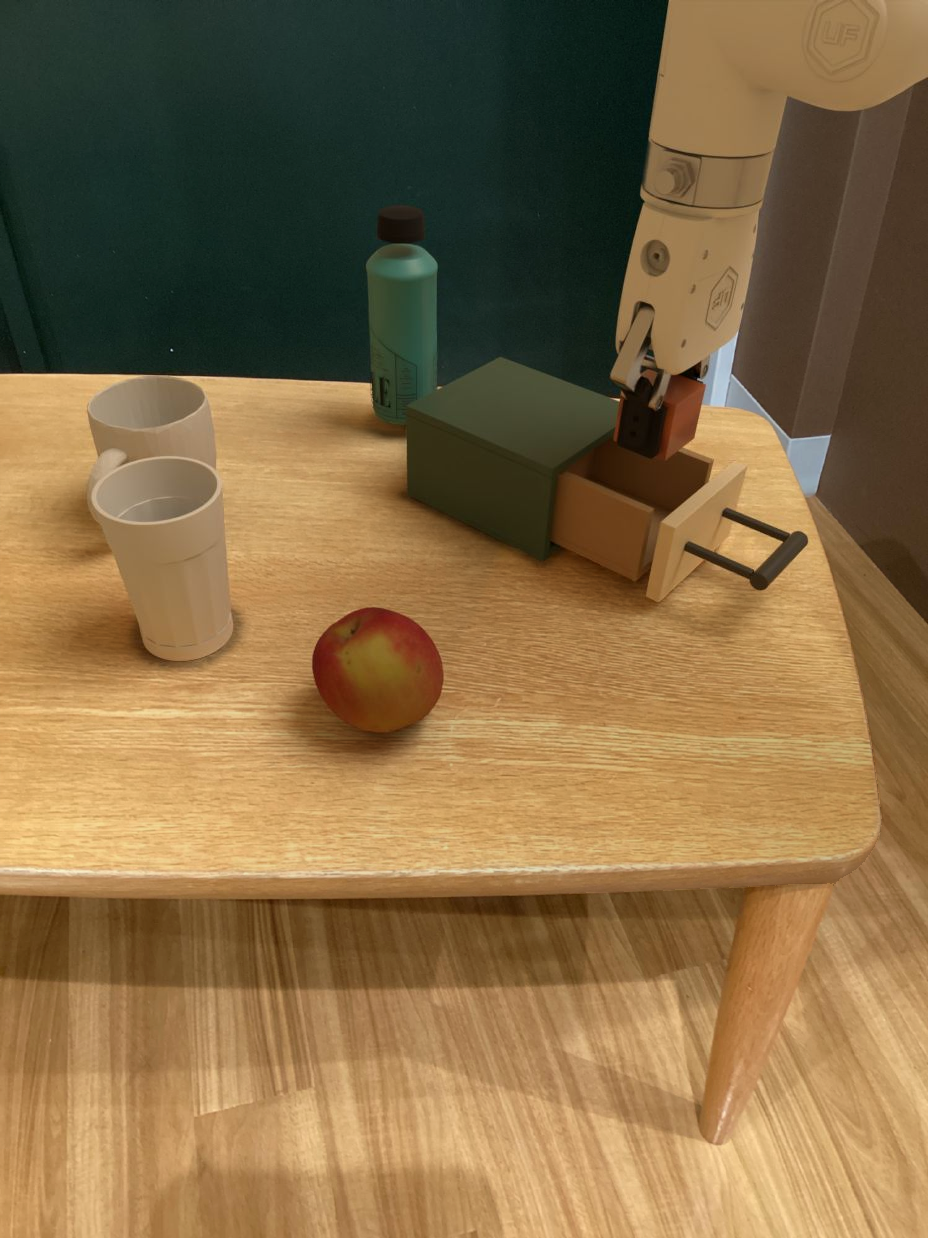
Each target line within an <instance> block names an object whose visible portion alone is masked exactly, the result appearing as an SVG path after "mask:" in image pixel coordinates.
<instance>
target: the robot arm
mask: <svg viewBox="0 0 928 1238" xmlns="http://www.w3.org/2000/svg"><path fill="white" fill-rule="evenodd" d="M927 78H928V0H668V5H667V11H666V18H665V24H664V32H663V38H662V44H661V51H660V57H659V65H658V71H657V77H656V84H655V91H654V97H653V104H652V110H651V119H650V125H649V130H648V140H647V144H646V145H647V146H646V151H645V152H646V153H645V159H644V165H643V172H642V179H641V185H640V192H639V195H640V198H641V199H642V200H643V201H644V202H643V203H642V207H641V210H640V213H639V218H638V221H637V224H636V230H635V233H634V236H633V240H632V244H631V249H630V253H629V258H628V261H627V266H626V271H625V275H624V279H623V280H624V281H623V285H622V292H621V296H620V302H619V309H618V315H617V322H616V330H615V350H616V353H617V355H618V356H617V358H616V360H615V362H614V365H613V367H612V369H611V372H610V376H609V379H610V381H612V382H613V384H615V385H617V386H618V387H619V390H620V395H621V398H622V399H623V405H622V411H621V417H620V424H619V430H618V436H617V444H618V445H619V446H620V447H622V448H625V449H627V450H630V451H632V452H635V453H637V454H640V455H642V456H645V457H647V458H650V459H652V458H654V457H655V456H657V455H658V453H659V447H660V442H661V437H662V432H663V427H664V422H665V417H666V412H667V407H666V406H663V405H662V403H663V400H664V397H665V393H666V390H667V387H668V383H669V380H670V376H671V375H677V374H678V375H680V376H683V377H686V378H689V379H692V380H695V381H698V382H700V383H703V384H704V381H703V380H704V378H706V376H707V374H708V372H709V370H710V369H709V367H710V360H711V355H713V354H714V353H715V352H717V351H718V350H720V349H721V348H722V347H724V346H725V345H727V344H728V343H730V341H732V340H733V339H734V338H735V336H736V335H738V333H739V330H740V327H741V323H742V319H743V313H744V309H745V304H746V299H747V294H748V289H749V282H750V277H751V271H752V267H753V261H754V255H755V249H756V244H757V235H758V226H759V215H760V210H761V209H762V206H763V202H764V197H765V192H766V189H767V184H768V180H769V175H770V171H771V168H772V167H771V166H772V162H773V158H774V153H775V149H776V146H777V141H778V138H779V134H780V130H781V125H782V121H783V116H784V111H785V109H786V108H785V107H786V103H787V99H788V97H789V98H791V99H794V100H797V101H800V102H803V103H805V104H808V105H811V106H814V107H818V108H820V109H821V108H822V109H825V110H830V111H835V112H855V111H856V112H857V111H862V110H867V109H870V108H873V107H876V106H879V105H881V104H883V103H885V102H887V101H889V100H890V99H892V98H894V97H895V96H898V95H900V94H901V93H903V92H904V91H906V90H908V89H909V88H910V87H912V86H913V85H915V84H917V83H919V82H922V81H923V80H925V79H927ZM649 350H650V351H653V356H651V355H648V354H647V353H648V351H649ZM643 368H644V369H646V370H648V369H650V370H653V371H655V372H657V374H656V378H655V381H654V385H653V386H652V384H651V382H650V380H649V379H648V378H645V377H643V376H642V374H641V373H642V369H643ZM701 380H702V381H701Z"/></svg>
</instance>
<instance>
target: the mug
mask: <svg viewBox="0 0 928 1238" xmlns="http://www.w3.org/2000/svg"><path fill="white" fill-rule="evenodd" d="M86 405H87V407H86V413H87V419H88V424H89V429H90V432H91V435H92V439H93V443H94V447H95V450H96V454H97V457H98V458H97V459H96V460H95V462H94V463H93V466H92V468H91V470H90V473H89V476H88V480H87V483H86V490H85V491H86V493H85V494H86V503H87V508H88V511H89V512H90V514H91V517H92V518H93V520H95V522H96V523H98V524H99V525H100V522H99V520H98V517H97V515H96V512H95V510H94V507H93V505H92V501H91V494H92V490H93V488H94V486H95V485H96V483H97V482H98V481H99V480H100V479H101V478H102V477H103V476H105V475H106V474H107V473H109V472H110V471H112V470H114V469H116V468H118V467H120V466H122V465H124V464H127V463H130V462H133V461H137V460H141V459H145V458H151V457H160V456H178V457H186V458H191V459H195V460H199V461H201V462H204V463H206V464H208V465H210V466H211V467H213V468H214V469H215V470H216V471H217V446H216V435H215V428H214V423H213V416H212V409H211V405H210V402H209V398H208V395H207V392H206V391H205V390H204V389H203V388H202V387H201V386H200V385H198V384H197V383H195V382H192V381H190V380H188V379H186V378H181V377H175V376H171V375H143V376H141V375H140V376H136V377H132V378H128V379H123V380H119V381H117V382H115V383H112V384H110V385H107V386H105V387H103V388H102V389H100V390H98V392H96V393H95V394H94V395H93V396H92V397H91V398H90V399H89V401H88V403H87V404H86Z"/></svg>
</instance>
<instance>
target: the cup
mask: <svg viewBox="0 0 928 1238" xmlns="http://www.w3.org/2000/svg"><path fill="white" fill-rule="evenodd" d="M223 492H224V491H223V479H222V477H221V475H220V474H219V472H218V471H217V469H216V470H215V469H214V468H213V467H211V466H210V465H208V464H206V463H204V462H201V461H199V460H195V459H191V458H186V457H178V456H160V457H151V458H145V459H141V460H137V461H133V462H130V463H127V464H124V465H122V466H120V467H118V468H116V469H114V470H112V471H110V472H109V473H107V474H106V475H105V476H103V477H102V478H101V479H100V480H99V481H98V482H97V483H96V485H95V486H94V488H93V490H92V494H91V501H92V505H93V507H94V510H95V512H96V515H97V517H98V520H99V522H100V524H99V525H100V527H101V530H102V532H103V535H104V537H105V540H106V543H107V545H108V547H109V548H110V550H111V553H112V556H113V558H114V560H115V563H116V566H117V569H118V572H119V575H120V577H121V580H122V582H123V585H124V588H125V591H126V593H127V596H128V598H129V601H130V604H131V606H132V609H133V612H134V615H135V618H136V620H137V622H138V627H139V632H140V636H141V639H142V643H143V646H144V647H145V649H146V650H147V651H148V652H149V653H150V654H152V655H153V656H155V657H157V658H159V659H161V660H166V661H172V662H188V661H193V660H198V659H201V658H205V657H208V656H209V655H211V654H212V655H213V653H216V652H217V651H218V650H220V649H221V648H222V647H224V646H225V645H226V644H227V642H228V641H229V640H230V638H231V636H232V635H233V632H234V620H233V616H232V608H231V606H232V605H231V594H230V593H231V592H230V581H229V567H228V553H227V552H228V551H227V541H226V528H225V526H226V525H225V512H224V495H223Z"/></svg>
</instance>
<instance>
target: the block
mask: <svg viewBox="0 0 928 1238" xmlns="http://www.w3.org/2000/svg"><path fill="white" fill-rule="evenodd" d="M641 374H642V376H643V377H645V378H648V379H649V380H650V382H651V384H652V386H653V385H654V381H655V378H656V374H657V372H655V371H653V370H650V369H646V370H644V371H643V372H641ZM706 387H707V384H706V383H704V382H703V383H700V382H698V381H695V380H692V379H689V378H686V377H683V376H680V375H678V374H677V375H671V376H670V380H669V383H668V387H667V390H666V393H665V397H664V400H663V403H662V405H663V406H666V407H667V412H666V417H665V422H664V427H663V432H662V437H661V442H660V447H659V453H658V455H657V456H655V457H656V458H659V459H661V460H664V461H665V460H667V459H668V458H669V457H671V456H672V455H673V454H675V453H676V452H677V451H679V450H680V449H681V448H682V447H683V448H685V446H687V445H688V444H689V443H690V442H692V441H693V440H695V436H696V432H697V429H698V427H697V426H698V422H699V418H700V415H701V410H702V405H703V401H704V396H705V392H706ZM618 401H619V408H618V414H617V421H616V427H615V433H614V441H617V436H618V430H619V424H620V417H621V411H622V405H623V399H622V398H621V394H620V396H619V400H618Z"/></svg>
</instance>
